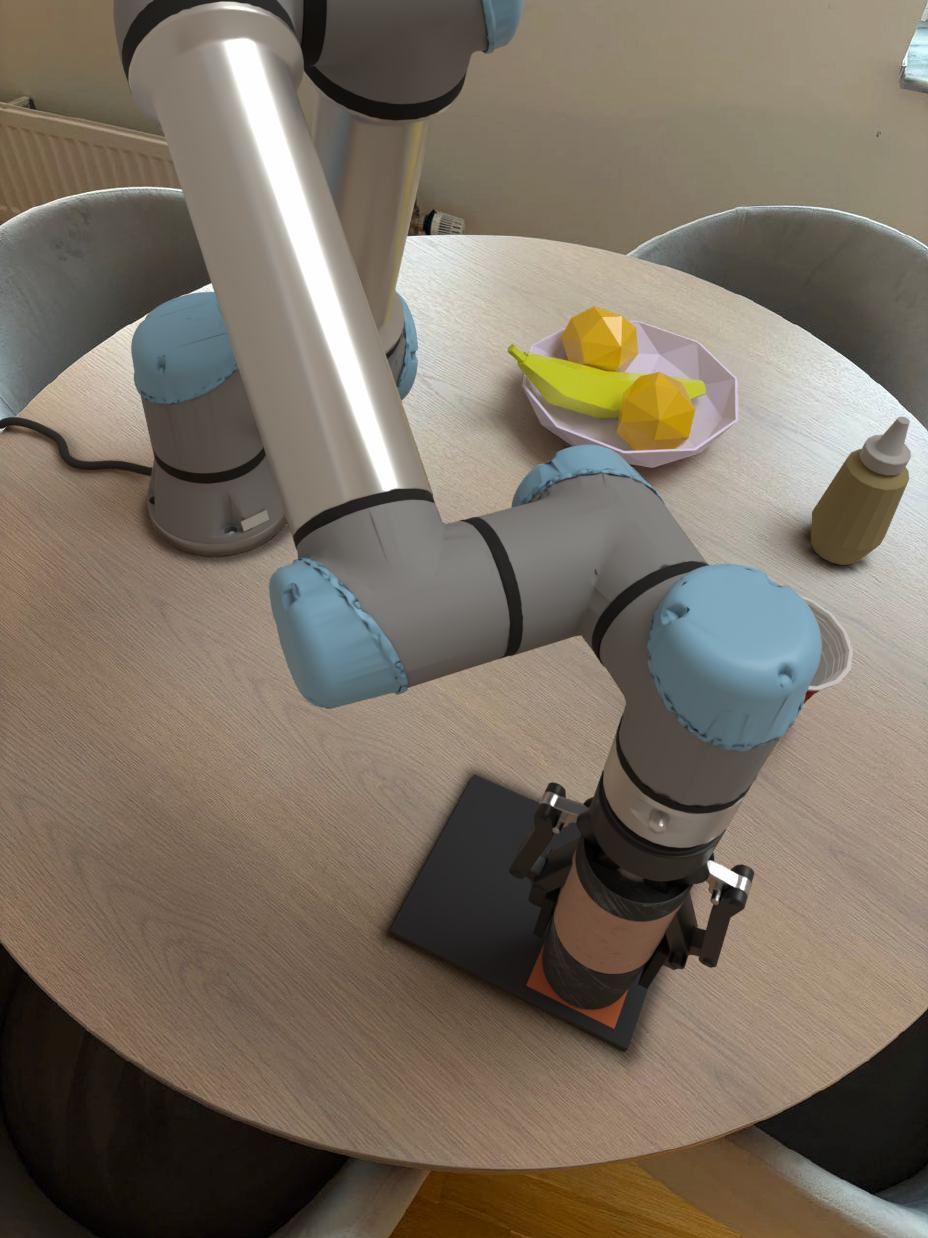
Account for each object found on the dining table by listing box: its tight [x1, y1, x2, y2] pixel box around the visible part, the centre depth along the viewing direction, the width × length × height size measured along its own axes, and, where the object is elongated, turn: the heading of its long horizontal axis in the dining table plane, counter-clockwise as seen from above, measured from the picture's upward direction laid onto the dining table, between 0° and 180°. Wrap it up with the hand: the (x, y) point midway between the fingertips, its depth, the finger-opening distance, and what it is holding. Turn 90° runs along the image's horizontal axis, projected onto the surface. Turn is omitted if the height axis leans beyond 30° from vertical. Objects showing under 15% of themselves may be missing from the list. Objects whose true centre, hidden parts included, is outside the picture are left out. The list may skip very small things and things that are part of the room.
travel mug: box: [542, 834, 694, 1010], centre depth 66 cm, size 8×8×20 cm
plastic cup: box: [799, 594, 854, 704], centre depth 87 cm, size 11×11×12 cm
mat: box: [389, 773, 650, 1052], centre depth 78 cm, size 20×16×1 cm
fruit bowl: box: [507, 306, 739, 469], centre depth 115 cm, size 28×27×11 cm
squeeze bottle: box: [810, 416, 912, 566], centre depth 100 cm, size 8×8×18 cm
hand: (595, 944), depth 71 cm, fingers closed on travel mug, 8 cm apart
